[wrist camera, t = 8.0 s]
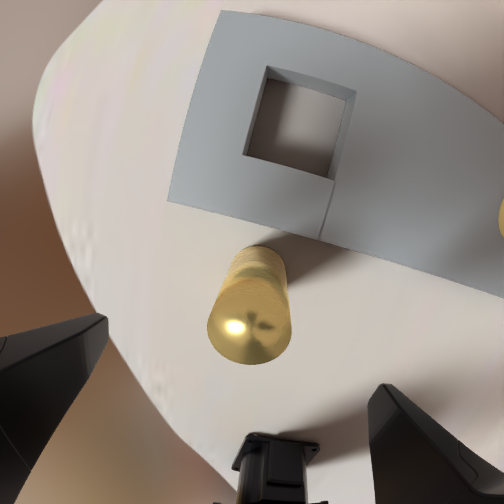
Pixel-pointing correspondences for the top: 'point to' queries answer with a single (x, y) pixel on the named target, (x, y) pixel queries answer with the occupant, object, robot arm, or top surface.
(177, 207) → the top surface
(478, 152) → the board
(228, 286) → the pin
